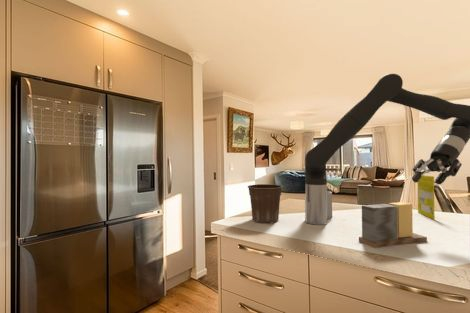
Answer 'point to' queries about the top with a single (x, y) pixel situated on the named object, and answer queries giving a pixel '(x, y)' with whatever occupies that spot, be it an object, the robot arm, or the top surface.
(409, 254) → the top surface
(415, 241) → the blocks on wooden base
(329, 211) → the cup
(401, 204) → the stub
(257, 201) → the plant pot
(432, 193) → the food package
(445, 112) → the robot arm
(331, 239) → the top surface
